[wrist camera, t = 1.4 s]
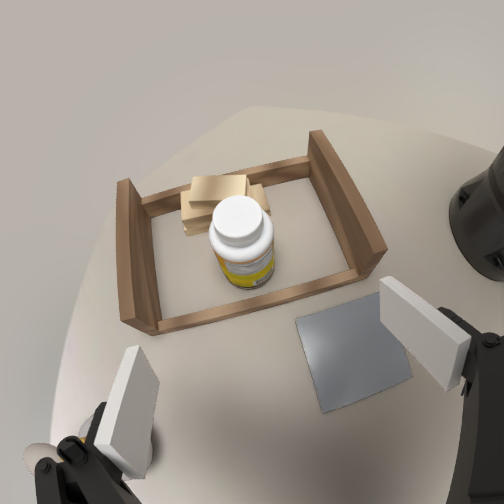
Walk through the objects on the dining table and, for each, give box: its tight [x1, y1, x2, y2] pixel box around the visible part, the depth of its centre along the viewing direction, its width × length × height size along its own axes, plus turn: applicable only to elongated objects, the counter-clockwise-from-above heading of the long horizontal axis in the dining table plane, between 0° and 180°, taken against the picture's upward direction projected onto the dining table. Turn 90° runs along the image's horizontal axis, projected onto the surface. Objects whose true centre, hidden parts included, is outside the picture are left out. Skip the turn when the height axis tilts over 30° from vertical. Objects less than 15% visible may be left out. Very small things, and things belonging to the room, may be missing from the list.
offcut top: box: [188, 175, 247, 209], centre depth 31 cm, size 6×3×2 cm, turn 88°
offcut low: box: [184, 183, 270, 236], centre depth 35 cm, size 10×4×2 cm, turn 103°
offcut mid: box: [181, 178, 253, 229], centre depth 33 cm, size 8×4×2 cm, turn 100°
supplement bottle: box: [209, 195, 274, 289], centre depth 27 cm, size 6×6×10 cm
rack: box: [116, 130, 388, 336], centre depth 30 cm, size 24×16×7 cm, turn 104°
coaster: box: [295, 292, 413, 413], centre depth 26 cm, size 10×10×1 cm
